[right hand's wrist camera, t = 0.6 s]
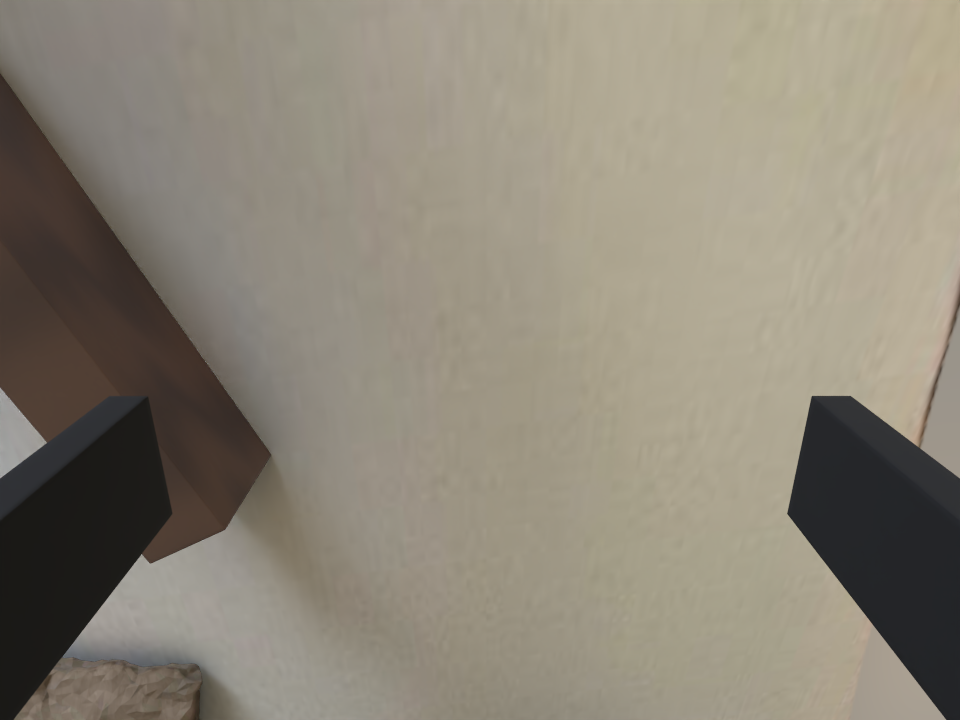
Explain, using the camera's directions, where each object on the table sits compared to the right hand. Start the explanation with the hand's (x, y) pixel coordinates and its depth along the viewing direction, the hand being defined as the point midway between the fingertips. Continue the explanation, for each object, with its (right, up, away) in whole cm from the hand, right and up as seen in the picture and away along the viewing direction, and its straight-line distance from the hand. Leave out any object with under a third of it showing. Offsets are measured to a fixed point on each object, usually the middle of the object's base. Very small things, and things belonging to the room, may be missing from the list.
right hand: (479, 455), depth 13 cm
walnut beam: (-23, +7, +24) cm, 34 cm away
